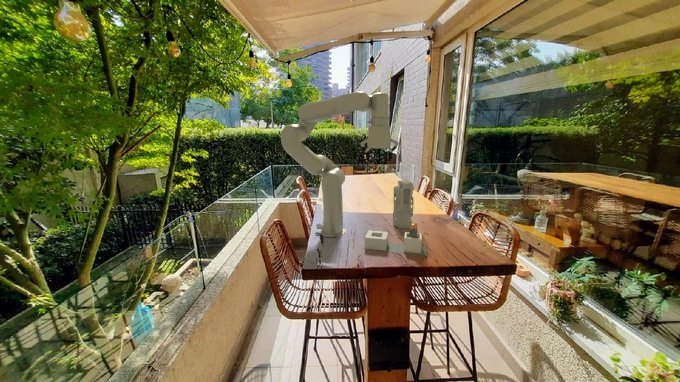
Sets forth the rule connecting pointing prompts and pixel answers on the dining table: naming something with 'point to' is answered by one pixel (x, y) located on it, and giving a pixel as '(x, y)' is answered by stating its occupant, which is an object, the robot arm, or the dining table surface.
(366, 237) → the dock board
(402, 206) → the lantern
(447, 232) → the dining table surface
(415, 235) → the lock pin
